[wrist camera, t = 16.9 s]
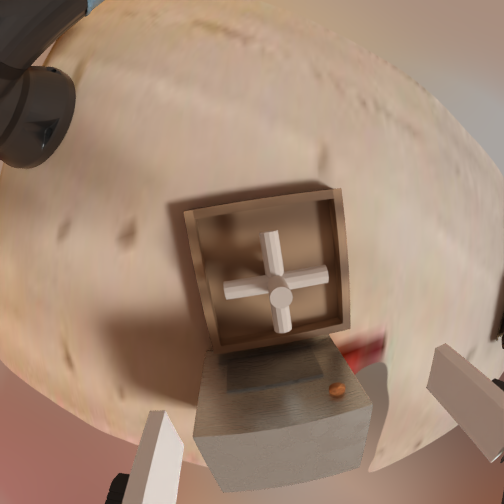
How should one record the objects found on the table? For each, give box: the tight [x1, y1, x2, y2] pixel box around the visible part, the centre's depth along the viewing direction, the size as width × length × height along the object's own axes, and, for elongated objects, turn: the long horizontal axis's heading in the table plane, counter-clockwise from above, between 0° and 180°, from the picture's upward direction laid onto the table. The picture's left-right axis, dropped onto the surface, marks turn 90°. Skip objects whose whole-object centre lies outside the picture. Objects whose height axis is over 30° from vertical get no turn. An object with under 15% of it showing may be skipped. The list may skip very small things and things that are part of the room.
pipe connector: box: [223, 230, 329, 333], centre depth 26 cm, size 10×10×10 cm
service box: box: [193, 334, 373, 492], centre depth 28 cm, size 13×16×15 cm
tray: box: [183, 188, 350, 354], centre depth 31 cm, size 17×17×2 cm
